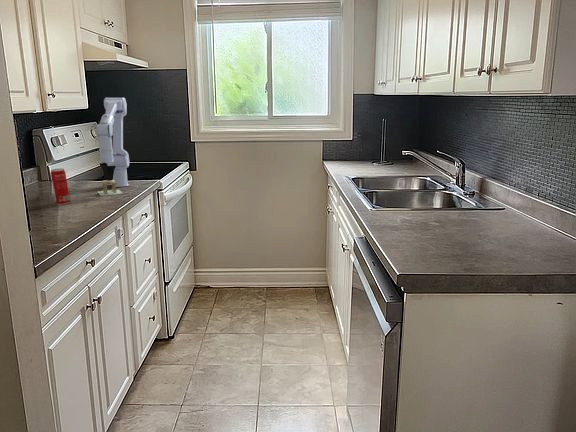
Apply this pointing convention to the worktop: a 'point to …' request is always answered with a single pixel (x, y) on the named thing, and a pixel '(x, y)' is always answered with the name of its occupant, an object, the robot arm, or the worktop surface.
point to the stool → (109, 183)
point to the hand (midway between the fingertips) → (108, 179)
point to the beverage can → (60, 186)
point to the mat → (109, 193)
